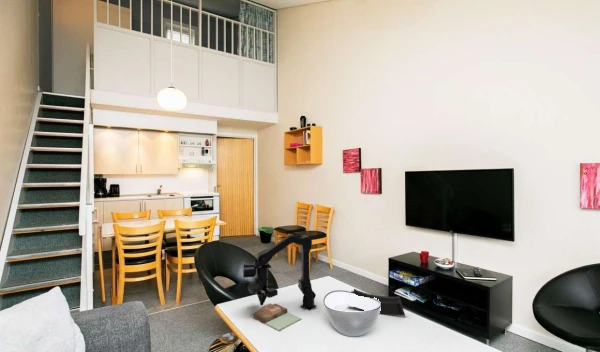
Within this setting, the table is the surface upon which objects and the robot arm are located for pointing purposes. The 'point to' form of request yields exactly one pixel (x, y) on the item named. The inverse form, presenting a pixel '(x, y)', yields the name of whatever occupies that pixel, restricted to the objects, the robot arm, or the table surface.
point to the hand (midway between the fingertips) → (261, 305)
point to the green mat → (283, 321)
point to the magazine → (386, 303)
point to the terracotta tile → (271, 309)
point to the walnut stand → (268, 315)
